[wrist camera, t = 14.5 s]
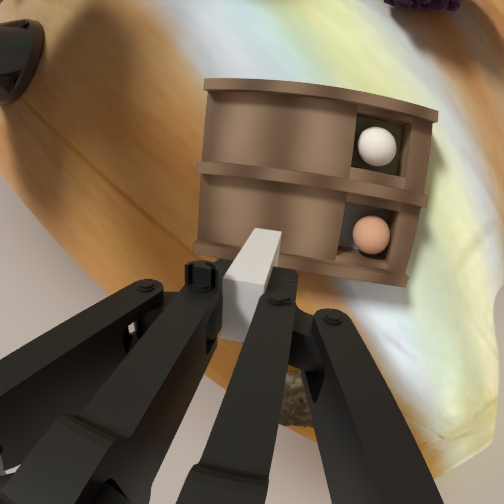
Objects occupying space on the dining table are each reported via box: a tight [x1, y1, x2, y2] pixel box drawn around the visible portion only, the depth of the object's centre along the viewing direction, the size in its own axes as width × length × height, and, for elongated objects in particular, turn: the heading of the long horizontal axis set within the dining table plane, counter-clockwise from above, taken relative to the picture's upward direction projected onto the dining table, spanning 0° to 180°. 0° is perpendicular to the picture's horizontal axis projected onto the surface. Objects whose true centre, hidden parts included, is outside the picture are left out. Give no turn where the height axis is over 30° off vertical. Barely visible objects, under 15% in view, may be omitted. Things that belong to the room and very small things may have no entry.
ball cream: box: [357, 127, 396, 166], centre depth 23 cm, size 4×4×4 cm
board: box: [193, 78, 438, 287], centre depth 25 cm, size 20×16×4 cm
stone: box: [279, 371, 314, 427], centre depth 34 cm, size 13×8×8 cm
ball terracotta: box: [353, 215, 390, 254], centre depth 26 cm, size 4×4×4 cm
